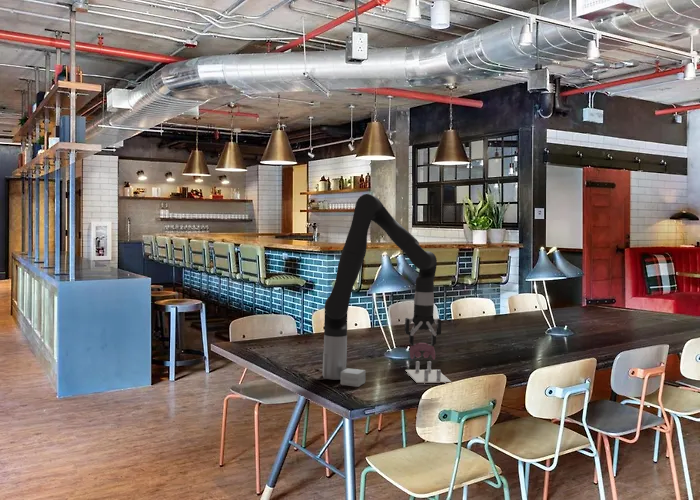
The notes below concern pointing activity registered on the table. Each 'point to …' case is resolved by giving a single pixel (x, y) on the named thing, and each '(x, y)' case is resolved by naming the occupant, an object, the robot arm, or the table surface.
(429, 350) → the maroon arch piece
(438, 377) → the pin tray
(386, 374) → the table surface
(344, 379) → the small box
